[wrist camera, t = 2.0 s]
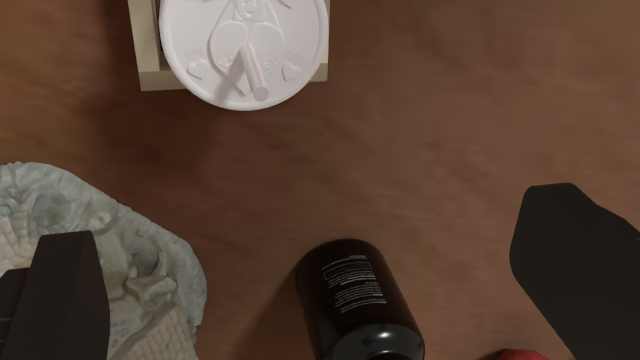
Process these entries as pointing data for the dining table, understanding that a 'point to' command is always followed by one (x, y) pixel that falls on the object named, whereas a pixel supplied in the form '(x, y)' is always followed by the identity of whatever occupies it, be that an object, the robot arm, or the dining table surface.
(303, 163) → the dining table surface
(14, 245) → the ceramic cottage
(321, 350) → the supplement bottle
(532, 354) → the onion
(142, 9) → the rectangular wooden frame
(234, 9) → the smoothie
